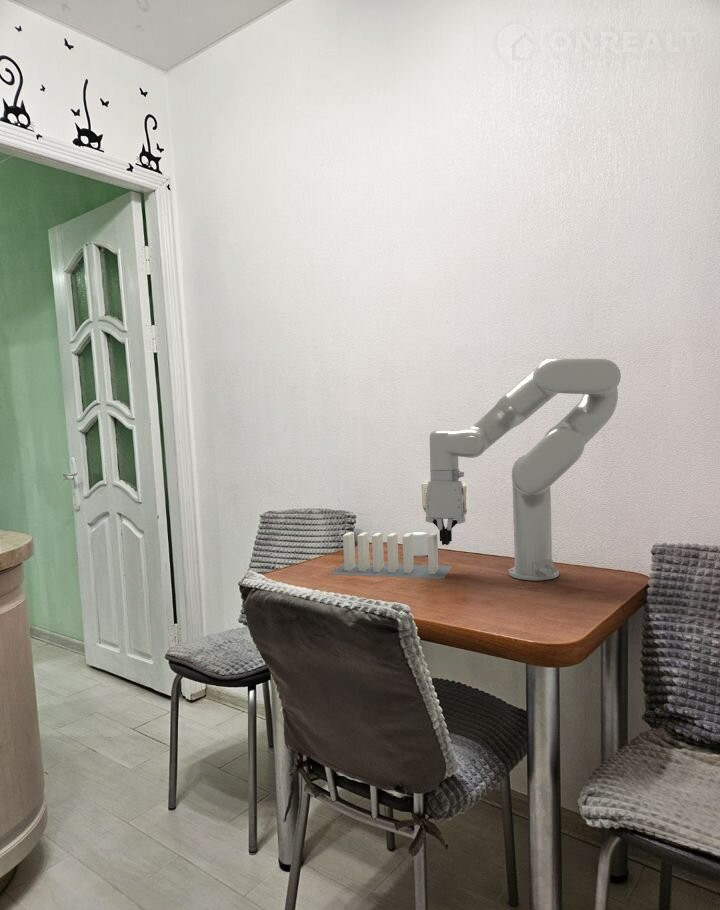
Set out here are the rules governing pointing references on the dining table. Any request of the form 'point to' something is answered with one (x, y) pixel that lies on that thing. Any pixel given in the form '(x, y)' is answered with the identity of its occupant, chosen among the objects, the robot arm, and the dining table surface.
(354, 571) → the mat
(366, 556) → the domino
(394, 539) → the domino
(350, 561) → the domino
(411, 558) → the domino
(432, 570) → the domino
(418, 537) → the white cup
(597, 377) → the robot arm
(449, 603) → the dining table surface
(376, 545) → the domino
